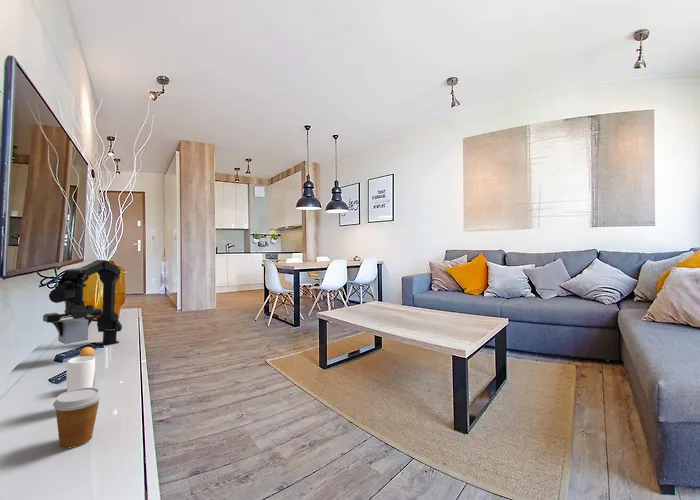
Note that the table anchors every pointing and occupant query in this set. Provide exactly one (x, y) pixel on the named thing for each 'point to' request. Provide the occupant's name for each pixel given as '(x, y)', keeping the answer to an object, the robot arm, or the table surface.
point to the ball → (87, 352)
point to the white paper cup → (80, 372)
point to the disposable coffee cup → (76, 415)
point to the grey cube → (74, 330)
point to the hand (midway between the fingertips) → (73, 334)
